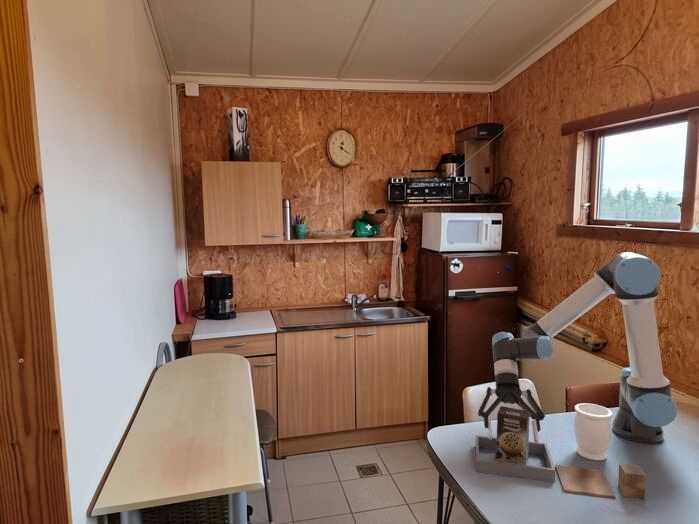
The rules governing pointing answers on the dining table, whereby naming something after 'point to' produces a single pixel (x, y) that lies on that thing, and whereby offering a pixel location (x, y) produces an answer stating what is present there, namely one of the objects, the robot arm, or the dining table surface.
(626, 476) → the walnut block
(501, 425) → the cookie box
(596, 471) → the cork mat
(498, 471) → the frame
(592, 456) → the jar
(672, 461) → the dining table surface
